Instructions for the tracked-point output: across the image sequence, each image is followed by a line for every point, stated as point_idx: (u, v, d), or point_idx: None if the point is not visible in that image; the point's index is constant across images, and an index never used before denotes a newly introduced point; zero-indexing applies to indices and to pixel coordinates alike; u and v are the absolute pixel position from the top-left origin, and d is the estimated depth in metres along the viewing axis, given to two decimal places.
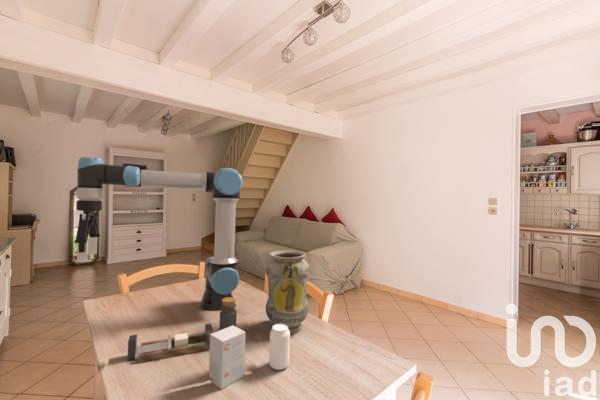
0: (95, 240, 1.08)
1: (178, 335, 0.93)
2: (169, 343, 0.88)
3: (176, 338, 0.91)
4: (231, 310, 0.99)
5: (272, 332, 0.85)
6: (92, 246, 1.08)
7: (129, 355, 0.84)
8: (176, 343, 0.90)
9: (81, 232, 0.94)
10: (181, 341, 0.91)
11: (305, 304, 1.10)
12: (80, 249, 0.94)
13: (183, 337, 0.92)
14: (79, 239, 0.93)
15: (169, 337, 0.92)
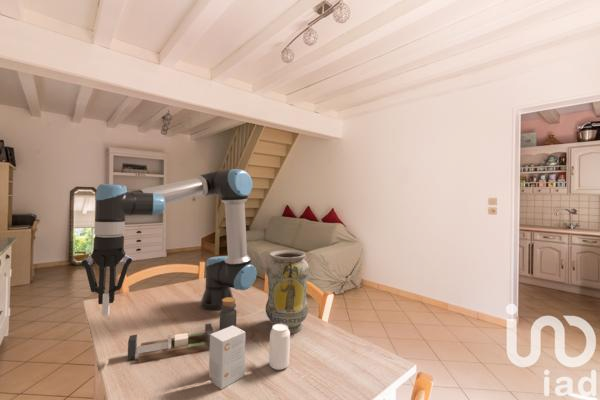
0: None
1: (178, 335, 0.93)
2: (169, 343, 0.88)
3: (176, 338, 0.91)
4: (231, 310, 0.99)
5: (272, 332, 0.85)
6: None
7: (129, 355, 0.84)
8: (176, 343, 0.90)
9: None
10: (181, 341, 0.91)
11: (305, 304, 1.10)
12: None
13: (183, 337, 0.92)
14: None
15: (169, 337, 0.92)
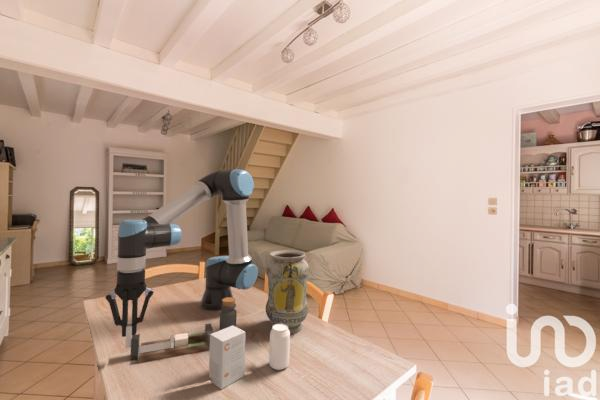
0: None
1: (178, 335, 0.93)
2: (172, 343, 0.88)
3: (176, 338, 0.91)
4: (231, 310, 0.99)
5: (272, 332, 0.85)
6: None
7: (132, 355, 0.85)
8: (176, 343, 0.90)
9: None
10: (181, 341, 0.91)
11: (305, 304, 1.10)
12: (122, 332, 0.85)
13: (183, 337, 0.92)
14: None
15: (172, 337, 0.92)
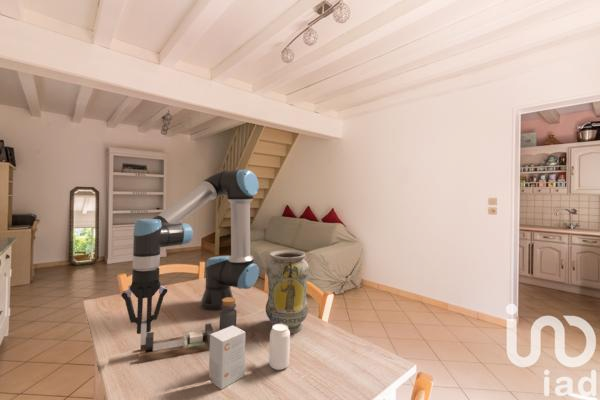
0: None
1: (192, 333, 0.95)
2: (185, 340, 0.90)
3: (191, 336, 0.93)
4: (231, 310, 0.99)
5: (272, 332, 0.85)
6: None
7: None
8: (191, 340, 0.92)
9: None
10: (196, 338, 0.92)
11: (305, 304, 1.10)
12: (137, 329, 0.87)
13: (198, 335, 0.94)
14: None
15: (184, 335, 0.94)
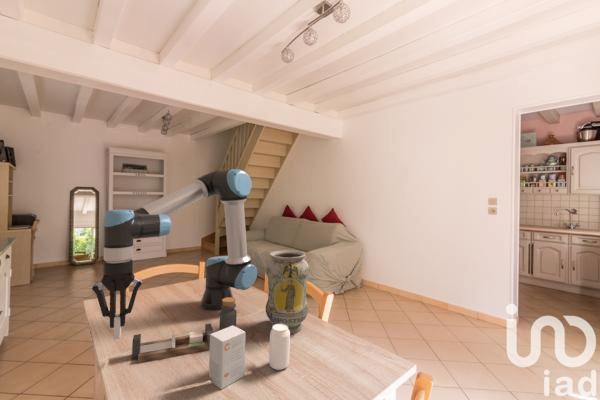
0: None
1: (192, 333, 0.95)
2: (173, 342, 0.89)
3: (191, 336, 0.93)
4: (231, 310, 0.99)
5: (272, 332, 0.85)
6: None
7: (133, 354, 0.85)
8: (191, 340, 0.92)
9: None
10: (196, 338, 0.92)
11: (305, 304, 1.10)
12: None
13: (198, 335, 0.94)
14: None
15: (173, 336, 0.92)
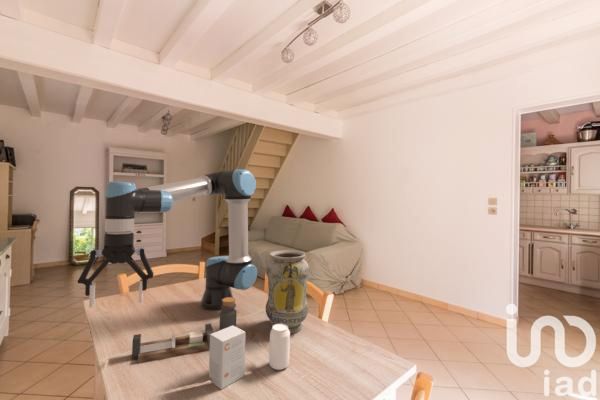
0: None
1: (192, 333, 0.95)
2: (173, 342, 0.89)
3: (191, 336, 0.93)
4: (231, 310, 0.99)
5: (272, 332, 0.85)
6: None
7: (133, 354, 0.85)
8: (191, 340, 0.92)
9: (83, 271, 0.81)
10: (196, 338, 0.92)
11: (305, 304, 1.10)
12: None
13: (198, 335, 0.94)
14: None
15: (173, 336, 0.92)
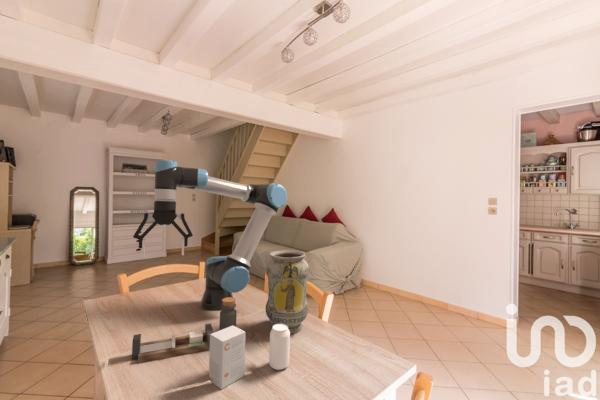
0: (182, 241, 1.08)
1: (192, 333, 0.95)
2: (173, 342, 0.89)
3: (191, 336, 0.93)
4: (231, 310, 0.99)
5: (272, 332, 0.85)
6: (182, 247, 1.09)
7: (133, 354, 0.85)
8: (191, 340, 0.92)
9: (137, 229, 1.03)
10: (196, 338, 0.92)
11: (305, 304, 1.10)
12: (139, 245, 1.03)
13: (198, 335, 0.94)
14: (134, 235, 1.02)
15: (173, 336, 0.92)
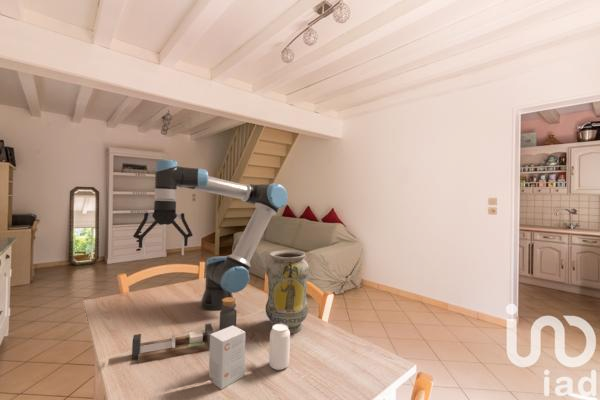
0: (182, 241, 1.08)
1: (192, 333, 0.95)
2: (173, 342, 0.89)
3: (191, 336, 0.93)
4: (231, 310, 0.99)
5: (272, 332, 0.85)
6: None
7: (133, 354, 0.85)
8: (191, 340, 0.92)
9: (137, 229, 1.03)
10: (196, 338, 0.92)
11: (305, 304, 1.10)
12: (139, 244, 1.03)
13: (198, 335, 0.94)
14: (134, 235, 1.02)
15: (173, 336, 0.92)
